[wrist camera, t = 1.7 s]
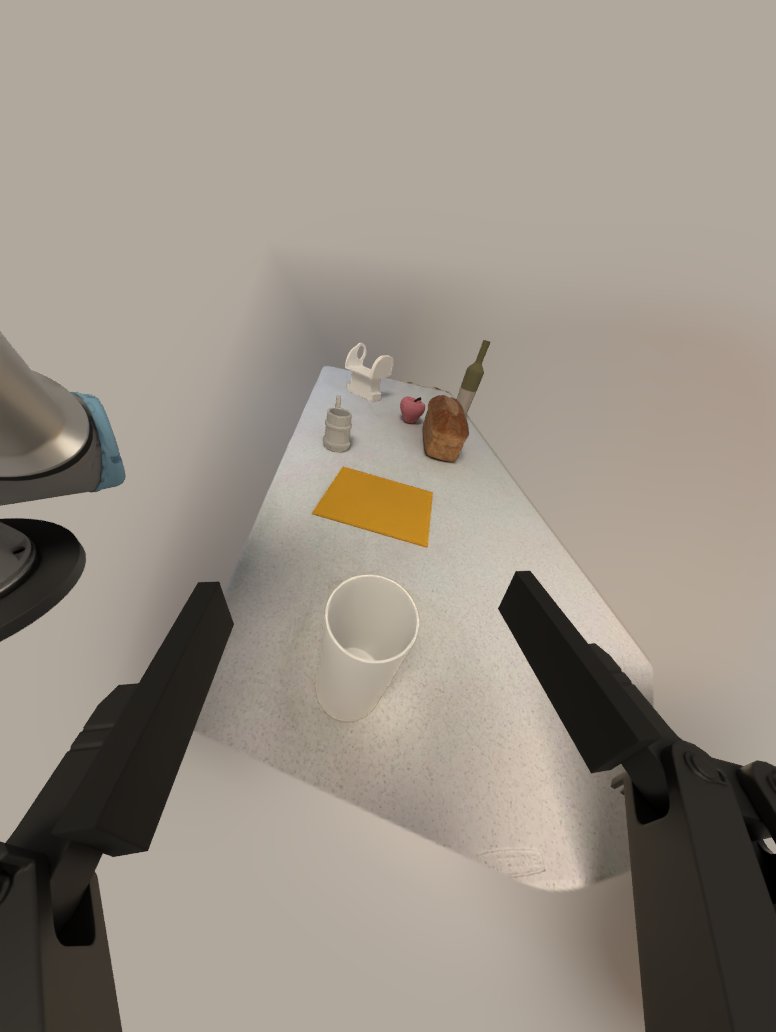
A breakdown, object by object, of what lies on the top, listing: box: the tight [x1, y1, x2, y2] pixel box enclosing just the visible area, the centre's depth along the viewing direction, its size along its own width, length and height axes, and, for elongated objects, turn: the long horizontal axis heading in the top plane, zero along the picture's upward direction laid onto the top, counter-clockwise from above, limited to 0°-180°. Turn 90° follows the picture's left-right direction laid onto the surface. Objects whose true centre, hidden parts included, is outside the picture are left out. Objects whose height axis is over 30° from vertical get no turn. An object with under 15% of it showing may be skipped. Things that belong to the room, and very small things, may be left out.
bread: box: [423, 395, 469, 461], centre depth 90 cm, size 12×28×14 cm, turn 176°
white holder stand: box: [345, 343, 393, 402], centre depth 113 cm, size 14×13×18 cm
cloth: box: [312, 467, 433, 547], centre depth 62 cm, size 24×20×1 cm
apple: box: [400, 397, 425, 423], centre depth 102 cm, size 10×9×10 cm
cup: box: [315, 575, 419, 722], centre depth 29 cm, size 8×8×16 cm
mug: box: [323, 396, 352, 452], centre depth 76 cm, size 8×12×12 cm, turn 13°
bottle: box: [456, 340, 490, 416], centre depth 113 cm, size 7×7×30 cm
